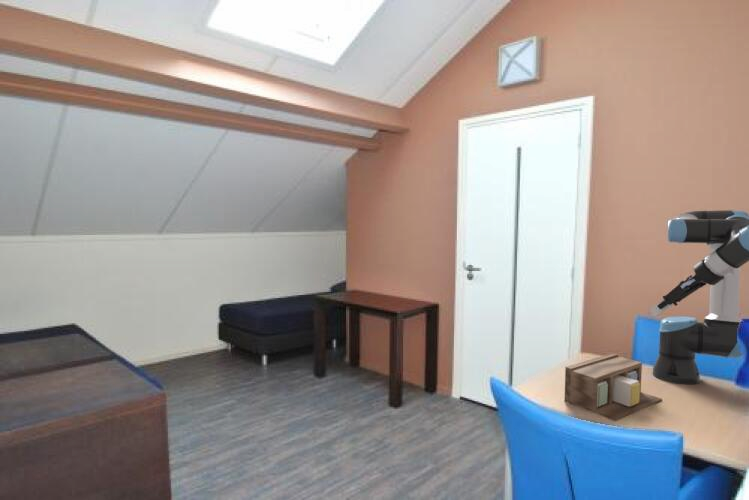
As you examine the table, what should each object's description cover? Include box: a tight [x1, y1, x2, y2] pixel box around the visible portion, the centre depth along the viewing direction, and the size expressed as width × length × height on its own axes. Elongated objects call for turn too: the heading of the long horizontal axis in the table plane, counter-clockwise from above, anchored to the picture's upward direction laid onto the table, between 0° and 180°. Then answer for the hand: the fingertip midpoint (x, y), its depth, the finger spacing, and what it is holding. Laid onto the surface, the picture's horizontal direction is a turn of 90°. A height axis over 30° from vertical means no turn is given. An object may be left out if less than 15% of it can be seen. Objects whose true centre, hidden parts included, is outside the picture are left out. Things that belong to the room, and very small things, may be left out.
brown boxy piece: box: [564, 352, 663, 422], centre depth 153 cm, size 18×28×12 cm, turn 122°
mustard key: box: [612, 375, 640, 407], centre depth 150 cm, size 8×5×8 cm, turn 32°
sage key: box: [597, 380, 608, 407], centre depth 150 cm, size 8×5×8 cm, turn 32°
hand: (653, 312), depth 151 cm, fingers closed
